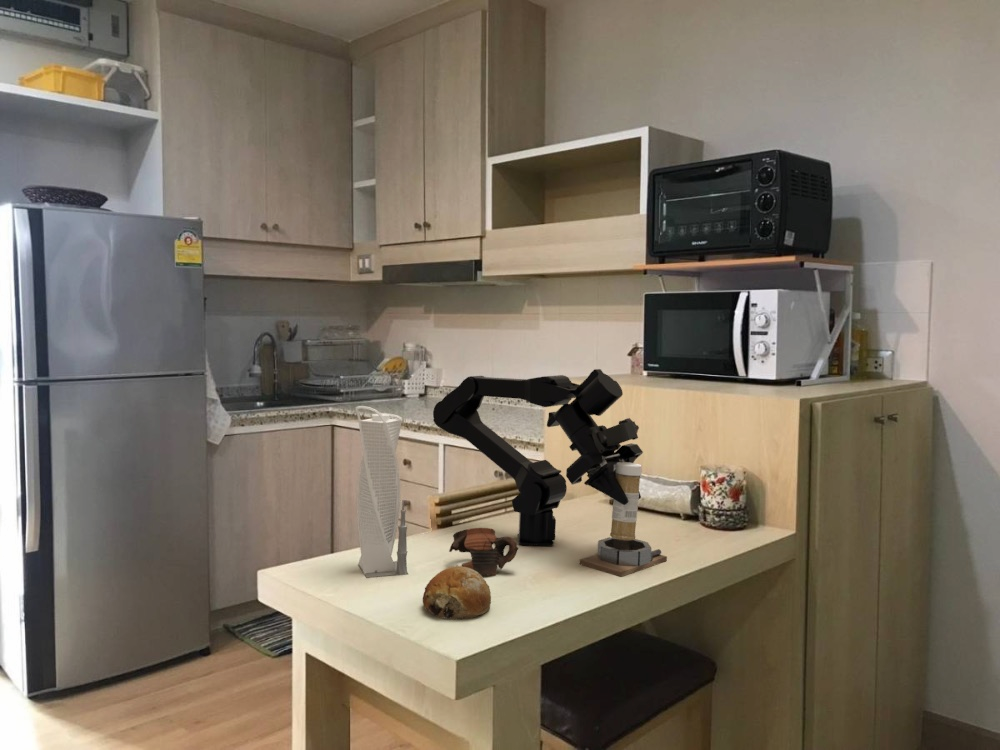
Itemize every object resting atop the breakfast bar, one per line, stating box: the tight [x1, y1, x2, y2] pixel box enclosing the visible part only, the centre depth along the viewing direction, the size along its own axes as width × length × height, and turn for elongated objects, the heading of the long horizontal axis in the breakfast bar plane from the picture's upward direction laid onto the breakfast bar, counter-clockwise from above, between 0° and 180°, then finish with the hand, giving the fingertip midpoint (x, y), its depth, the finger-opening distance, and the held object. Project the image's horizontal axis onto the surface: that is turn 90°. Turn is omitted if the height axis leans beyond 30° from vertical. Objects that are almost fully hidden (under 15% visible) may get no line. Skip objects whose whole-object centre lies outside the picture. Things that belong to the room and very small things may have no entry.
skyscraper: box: [354, 405, 409, 579], centre depth 136 cm, size 8×8×28 cm
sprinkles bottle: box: [609, 462, 643, 541], centre depth 145 cm, size 5×5×13 cm
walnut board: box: [579, 553, 668, 577], centre depth 146 cm, size 14×9×1 cm, turn 136°
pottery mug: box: [448, 527, 519, 577], centre depth 139 cm, size 12×9×8 cm
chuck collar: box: [597, 536, 662, 566], centre depth 146 cm, size 11×9×2 cm
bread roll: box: [422, 565, 492, 620], centre depth 120 cm, size 10×10×8 cm
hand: (632, 501), depth 144 cm, fingers closed on sprinkles bottle, 4 cm apart
